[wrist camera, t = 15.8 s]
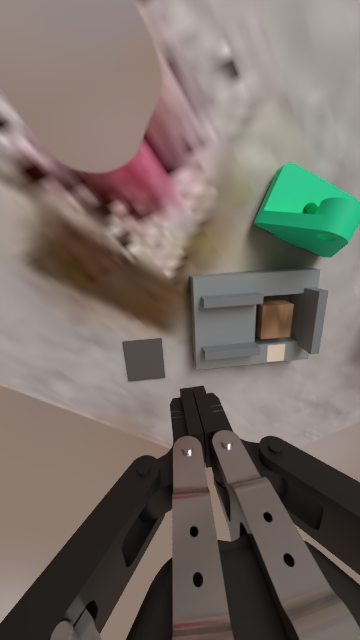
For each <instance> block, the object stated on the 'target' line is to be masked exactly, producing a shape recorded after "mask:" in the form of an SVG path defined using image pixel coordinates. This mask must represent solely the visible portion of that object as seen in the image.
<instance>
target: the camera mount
mask: <svg viewBox="0 0 360 640" xmlns="http://www.w3.org/2000/svg"><path fill="white" fill-rule="evenodd" d="M303 209H305V210H306V214H305V213H302V212H303ZM359 223H360V203H359V202H358V200H357V199H356V198H355V197H353V196H351V195H350V194H348V193H346V192H344V191H342V190H341V189H339V188H337V187H335V186H334V185H332V184H330V183H328V182H326V181H325V180H323V179H321V178H319V177H318V176H316V175H314V174H312V173H311V172H309V171H307V170H305V169H303V168H302V167H300V166H298V165H296V164H295V163H292V162H289V163H287V164H285V165H284V166H282V167H281V168H280V169H278V170H277V172H276V174H275V176H274V178H273V181H272V183H271V185H270V187H269V190H268V192H267V194H266V196H265V199H264V201H263V203H262V205H261V207H260V210H259V212H258V214H257V216H256V219H255V221H254V223H253V224H254V225H257V226H259V227H261V228H263V229H265V230H267V231H269V232H271V233H273V236H275V237H277V238H279V239H282V240H284V241H286V242H288V243H290V244H292V245H294V246H296V247H298V248H305V249H307V250H309V251H311V252H313V253H315V254H317V255H319V256H321V257H332V256H333V255H334V254H336V253H337V252H338V251H339V250H340V249H342V248H343V247H344V246H345V245H347V244H348V242H349V240H350V239H351V237H352V235H353V233H354V232H355V230H356V228H357V226H358V225H359Z"/></svg>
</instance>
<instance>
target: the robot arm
mask: <svg viewBox="0 0 360 640" xmlns="http://www.w3.org/2000/svg"><path fill="white" fill-rule="evenodd" d="M170 411H171V420H172V430H173V446H172V448H171V449H170V451H169V452H168V453H167V454H165V455H164V456H162V457H160V458H158V459H156V458H154V457H153V456H149V455H145V456H141V457H139V458H137V459H136V460H135V461H134V462H133V463H132V464H131V465H130V466H129V468H128V469H127V470H126V471H125V473H124V474H123V475H122V476H121V477H120V478H119V480H118V481H117V482H116V483H115V485H114V486H113V487H112V488H111V489H110V491H109V492H108V493H107V494H106V495H105V497H104V498H103V499H102V500H101V502H100V503H99V504H98V505H97V507H96V508H95V509H94V510H93V511H92V513H91V514H90V515H89V516H88V517H87V519H86V520H85V521H84V522H83V523H82V525H81V526H80V527H79V528H78V530H77V531H76V532H75V533H74V534H73V536H72V537H71V538H70V539H69V541H68V542H67V543H66V544H65V545H64V547H63V548H62V549H61V550H60V551H59V553H58V554H57V555H56V556H55V558H54V559H53V560H52V561H51V563H50V564H49V565H48V566H47V567H46V569H45V570H44V571H43V572H42V574H41V575H40V576H39V577H38V578H37V579H36V581H35V582H34V583H33V584H32V586H31V587H30V588H29V589H28V590H27V592H26V593H25V594H24V595H23V597H22V598H21V599H20V600H19V601H18V603H17V604H16V605H15V606H14V608H13V609H12V610H11V611H10V612H9V614H8V615H7V616H6V617H5V618H4V620H3V621H2V622H1V623H0V640H101V637H100V633H101V631H102V629H103V627H104V625H105V624H106V622H107V620H108V618H109V616H110V615H111V613H112V611H113V609H114V607H115V605H116V603H117V602H118V600H119V598H120V596H121V595H122V593H123V591H124V589H125V587H126V585H127V584H128V582H129V580H130V578H131V576H132V575H133V573H134V571H135V569H136V567H137V566H138V564H139V562H140V560H141V558H142V556H143V555H144V553H145V551H146V549H147V547H148V546H149V544H150V542H151V540H152V538H153V537H154V535H155V533H156V531H157V529H158V527H159V526H160V524H161V522H162V520H163V518H164V516H165V513H166V512H168V511H170V510H171V509H172V547H173V548H172V551H173V552H172V553H173V554H172V558H171V559H170V560H168V561H167V562H166V563H165V564H164V566H163V567H162V568H161V569H160V571H159V572H158V574H157V575H156V577H155V578H154V580H153V582H152V583H151V586H150V588H149V590H148V592H147V594H146V596H145V599H144V601H143V603H142V605H141V607H140V610H139V612H138V614H137V617H136V618H135V621H134V623H133V625H132V628H131V630H130V632H129V634H128V636H127V638H126V640H360V585H359V584H358V583H357V582H356V581H355V580H353V579H352V578H351V577H350V576H349V575H347V574H346V573H345V572H344V571H343V570H341V569H340V568H339V567H338V566H337V565H336V564H334V563H333V562H332V561H330V559H328V558H327V557H326V556H325V555H324V554H322V553H321V552H320V551H319V550H318V549H316V548H315V547H314V546H312V545H311V544H309V543H308V542H306V541H304V540H303V539H302V537H301V535H300V534H299V532H298V530H297V528H296V526H295V525H297V526H298V527H299V528H300V529H302V530H303V531H304V532H306V533H307V534H308V535H309V536H311V537H312V538H313V539H314V540H316V541H317V542H318V543H320V544H321V545H322V546H323V547H325V548H326V549H327V550H329V551H330V552H331V553H332V554H334V555H335V556H336V557H337V558H339V559H340V560H341V561H343V562H344V563H345V564H346V565H348V566H349V567H350V568H351V569H353V570H354V571H355V572H356V573H358V574H359V575H360V482H358V481H356V480H354V479H353V478H351V477H349V476H347V475H345V474H344V473H342V472H340V471H338V470H336V469H335V468H333V467H331V466H329V465H327V464H325V463H324V462H322V461H320V460H318V459H316V458H315V457H313V456H311V455H309V454H307V453H306V452H303V451H302V450H300V449H298V448H297V447H295V446H293V445H291V444H289V443H288V442H286V441H284V440H282V439H280V438H278V437H274V436H266V437H264V438H262V439H261V441H260V443H254V442H248V441H244V440H242V439H240V438H239V437H238V435H236V434H235V433H234V432H233V430H232V428H231V426H230V424H229V421H228V419H227V417H226V414H225V412H224V410H223V407H222V406H221V403H220V400H219V398H218V397H217V396H216V395H215V394H214V393H208V394H206V391H205V389H204V386H197V387H192V388H191V387H190V388H183V389H180V398H173V399H172V401H171V404H170ZM205 463H206V467H207V468H208V467H212V471H213V475H214V485H215V488H216V491H217V494H218V497H219V500H220V503H221V506H222V509H223V512H224V515H225V518H226V521H227V524H228V527H229V532H230V537H231V542H228V541H222V540H217V535H216V528H215V523H214V516H213V510H212V504H211V497H210V491H209V489H208V485H207V479H206V472H205ZM294 524H295V525H294Z"/></svg>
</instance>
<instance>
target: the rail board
mask: <svg viewBox="0 0 360 640" xmlns="http://www.w3.org/2000/svg"><path fill="white" fill-rule="evenodd" d="M319 275H320V269H314V268H295V269H280V270H266V271H251V272H236V273H221V274H207V275H192V276H190V288H191V311H192V335H193V359H194V363H195V367H196V370H200V369H210V368H220V367H231V366H241V365H251V364H261V363H271V362H281V361H291V360H301V359H308V355H309V353H310V354H318V353H319V348H320V342H321V335H322V329H323V322H324V316H325V309H326V303H327V296H328V291H327V290H322V289H318V282H319ZM286 294H291V301H290V303H292V304H294V307H293V315H292V324H291V332H290V337H282V338H270V339H260V338H259V337H255V322H256V304H263V298H264V296H273V295H286Z"/></svg>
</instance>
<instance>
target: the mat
mask: <svg viewBox="0 0 360 640" xmlns="http://www.w3.org/2000/svg"><path fill="white" fill-rule="evenodd" d="M123 346H124V353H125V360H126V366H127V373H128V380H129V381H136V380H146V379H156V378H165V373H164V361H163V350H162V339H161V338H159V339H148V340H136V341H125V342H123Z"/></svg>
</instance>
